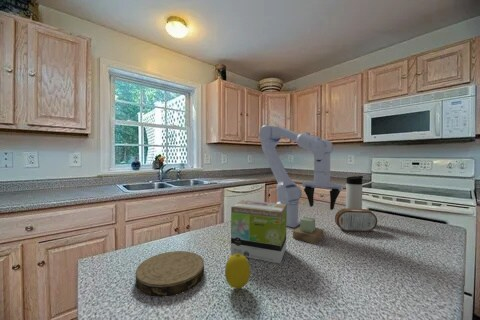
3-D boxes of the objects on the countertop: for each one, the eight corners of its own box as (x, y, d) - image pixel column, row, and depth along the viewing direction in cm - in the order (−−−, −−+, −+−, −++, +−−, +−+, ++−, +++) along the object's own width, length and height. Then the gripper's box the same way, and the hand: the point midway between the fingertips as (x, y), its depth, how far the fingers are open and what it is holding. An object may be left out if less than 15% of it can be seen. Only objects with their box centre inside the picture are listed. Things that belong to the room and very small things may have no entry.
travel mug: (365, 223, 95) (366, 176, 94) (349, 223, 95) (350, 176, 94) (357, 219, 101) (358, 175, 100) (343, 219, 101) (343, 175, 100)
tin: (374, 230, 87) (374, 208, 87) (378, 233, 84) (378, 210, 84) (334, 228, 89) (334, 207, 88) (337, 231, 86) (337, 209, 85)
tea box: (229, 256, 65) (229, 206, 65) (241, 243, 75) (241, 199, 74) (281, 265, 60) (281, 210, 60) (286, 249, 70) (287, 202, 69)
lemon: (224, 282, 52) (224, 248, 52) (248, 281, 53) (248, 247, 52) (225, 297, 47) (225, 259, 46) (251, 296, 47) (251, 258, 47)
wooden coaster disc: (183, 304, 45) (183, 290, 45) (119, 291, 49) (119, 277, 49) (214, 266, 60) (214, 255, 60) (162, 258, 65) (162, 248, 64)
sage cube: (300, 230, 79) (300, 219, 79) (304, 227, 82) (304, 216, 82) (311, 232, 77) (311, 221, 77) (315, 229, 80) (315, 218, 80)
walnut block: (292, 239, 79) (293, 230, 79) (302, 232, 85) (302, 225, 85) (315, 245, 74) (315, 236, 74) (323, 237, 80) (323, 229, 80)
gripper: (299, 171, 85) (298, 206, 86) (339, 173, 76) (339, 213, 77) (306, 170, 91) (306, 203, 91) (344, 172, 82) (344, 208, 82)
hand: (321, 207), depth 84 cm, fingers open, 7 cm apart
